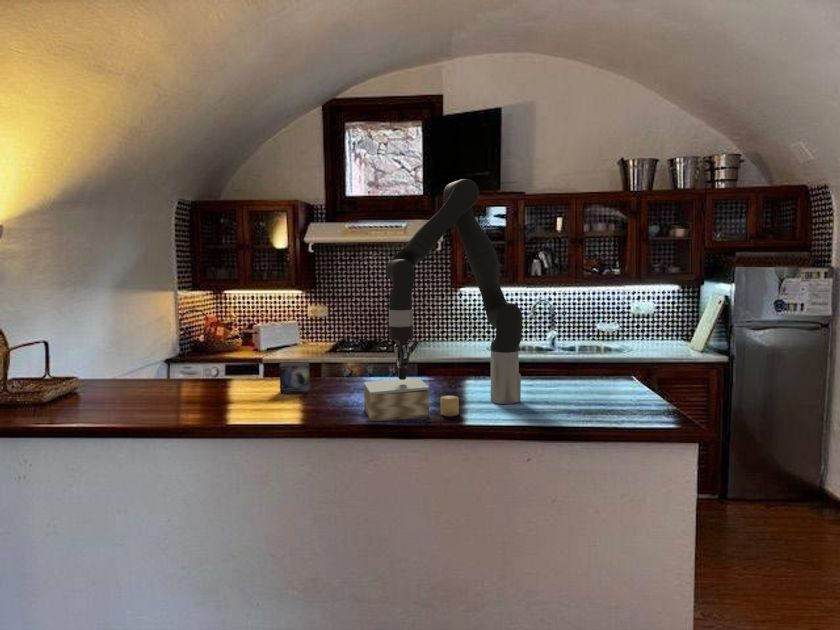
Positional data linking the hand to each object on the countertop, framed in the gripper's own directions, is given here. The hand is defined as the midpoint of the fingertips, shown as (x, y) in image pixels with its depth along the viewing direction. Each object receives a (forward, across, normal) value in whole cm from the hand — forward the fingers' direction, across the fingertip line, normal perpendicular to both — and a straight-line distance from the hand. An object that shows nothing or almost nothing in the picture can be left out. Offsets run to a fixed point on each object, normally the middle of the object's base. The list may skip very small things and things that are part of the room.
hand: (402, 379), depth 185 cm
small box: (+11, +37, +32) cm, 50 cm away
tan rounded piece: (+11, -5, -14) cm, 18 cm away
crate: (+11, 0, +2) cm, 11 cm away
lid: (+2, 0, +2) cm, 3 cm away
